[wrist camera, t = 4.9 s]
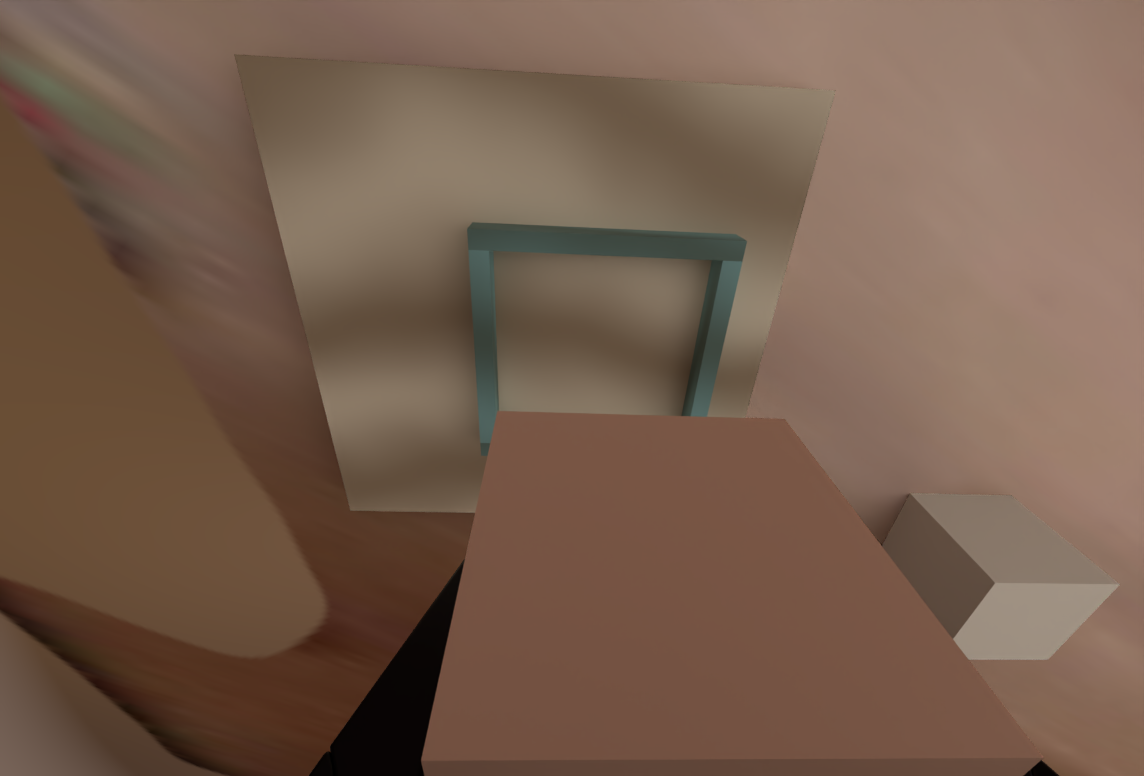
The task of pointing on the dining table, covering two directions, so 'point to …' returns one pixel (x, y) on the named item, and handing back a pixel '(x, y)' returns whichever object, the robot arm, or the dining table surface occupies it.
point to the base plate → (522, 250)
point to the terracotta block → (693, 618)
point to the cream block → (995, 574)
